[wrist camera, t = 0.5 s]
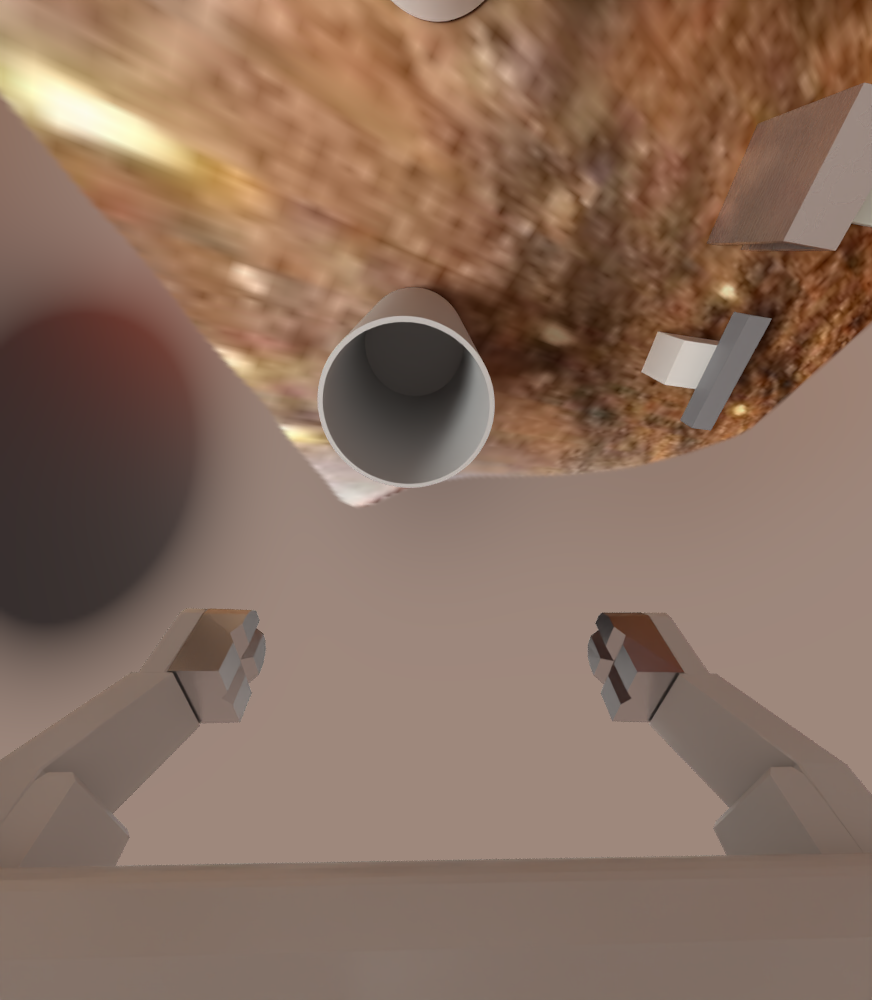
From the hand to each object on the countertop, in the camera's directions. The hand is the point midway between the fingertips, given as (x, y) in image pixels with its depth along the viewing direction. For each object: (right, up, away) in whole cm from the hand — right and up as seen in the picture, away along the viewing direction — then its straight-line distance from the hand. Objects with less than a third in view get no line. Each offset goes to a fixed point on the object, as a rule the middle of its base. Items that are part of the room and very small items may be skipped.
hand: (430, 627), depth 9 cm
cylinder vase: (-2, +23, +40) cm, 46 cm away
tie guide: (+34, +36, +32) cm, 59 cm away
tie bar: (+32, +18, +35) cm, 50 cm away
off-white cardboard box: (+32, +22, +41) cm, 56 cm away
